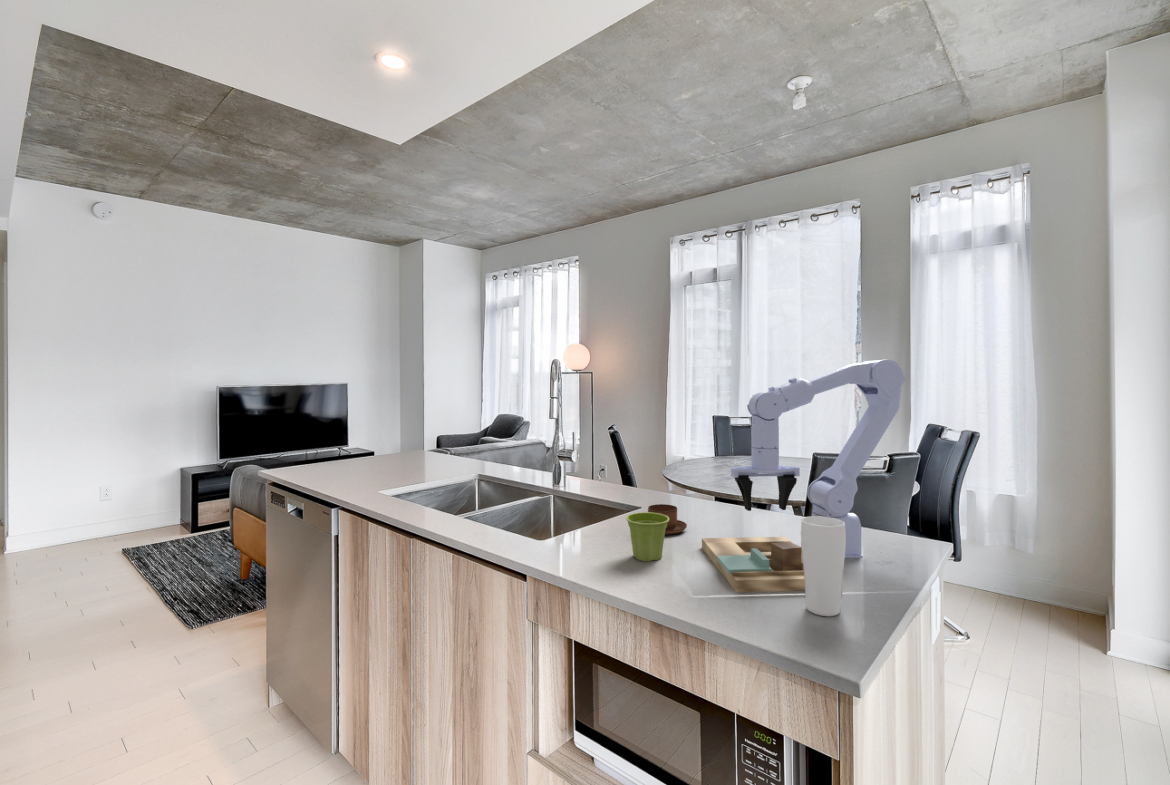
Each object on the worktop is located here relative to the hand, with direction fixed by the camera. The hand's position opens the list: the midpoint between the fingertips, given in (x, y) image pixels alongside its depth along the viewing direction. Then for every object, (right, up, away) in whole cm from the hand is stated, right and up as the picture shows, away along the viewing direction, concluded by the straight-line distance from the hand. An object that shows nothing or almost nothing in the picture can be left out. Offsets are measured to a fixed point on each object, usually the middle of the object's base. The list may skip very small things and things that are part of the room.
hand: (765, 509), depth 120 cm
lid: (-9, -8, -14) cm, 19 cm away
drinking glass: (0, -11, -29) cm, 31 cm away
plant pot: (-26, -10, -1) cm, 28 cm away
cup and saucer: (-20, -10, +19) cm, 29 cm away
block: (0, -10, -14) cm, 17 cm away
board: (-3, -10, -8) cm, 13 cm away
